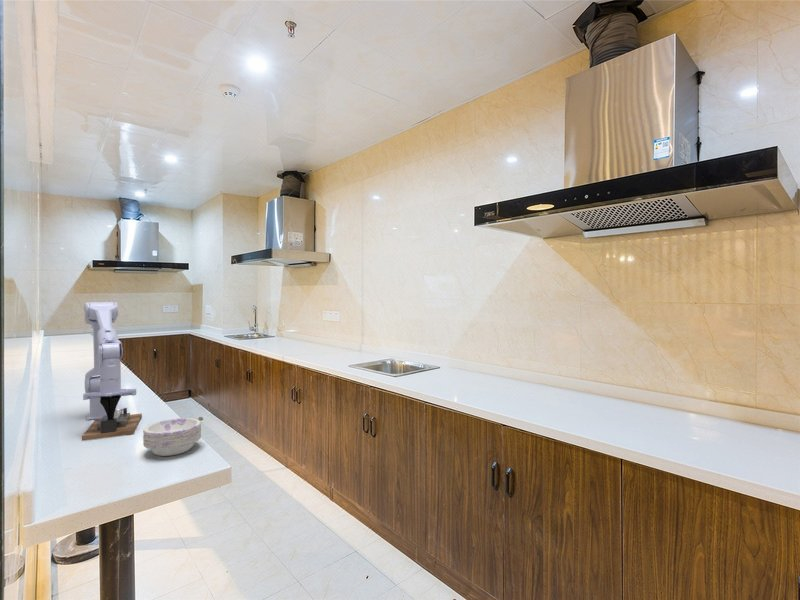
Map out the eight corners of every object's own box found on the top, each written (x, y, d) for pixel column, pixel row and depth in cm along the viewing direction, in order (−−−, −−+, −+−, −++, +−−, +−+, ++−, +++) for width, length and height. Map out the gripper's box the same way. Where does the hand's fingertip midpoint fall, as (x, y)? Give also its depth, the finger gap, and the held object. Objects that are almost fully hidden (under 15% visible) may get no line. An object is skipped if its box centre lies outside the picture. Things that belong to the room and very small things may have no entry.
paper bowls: (188, 437, 133) (188, 413, 133) (210, 449, 123) (209, 423, 123) (135, 451, 121) (135, 425, 121) (155, 465, 111) (154, 437, 111)
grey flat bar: (112, 413, 146) (112, 409, 146) (122, 412, 148) (122, 408, 148) (104, 424, 134) (104, 421, 134) (115, 423, 136) (115, 419, 136)
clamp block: (104, 419, 146) (104, 408, 145) (130, 417, 149) (130, 406, 149) (93, 434, 131) (93, 422, 131) (123, 430, 134) (122, 418, 134)
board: (96, 422, 147) (96, 418, 147) (141, 417, 153) (141, 413, 153) (81, 440, 129) (81, 436, 129) (133, 434, 135) (133, 429, 135)
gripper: (80, 382, 129) (80, 424, 130) (134, 378, 136) (134, 418, 136) (86, 378, 136) (86, 418, 136) (137, 374, 142) (137, 413, 142)
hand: (110, 418), depth 136 cm, fingers closed
